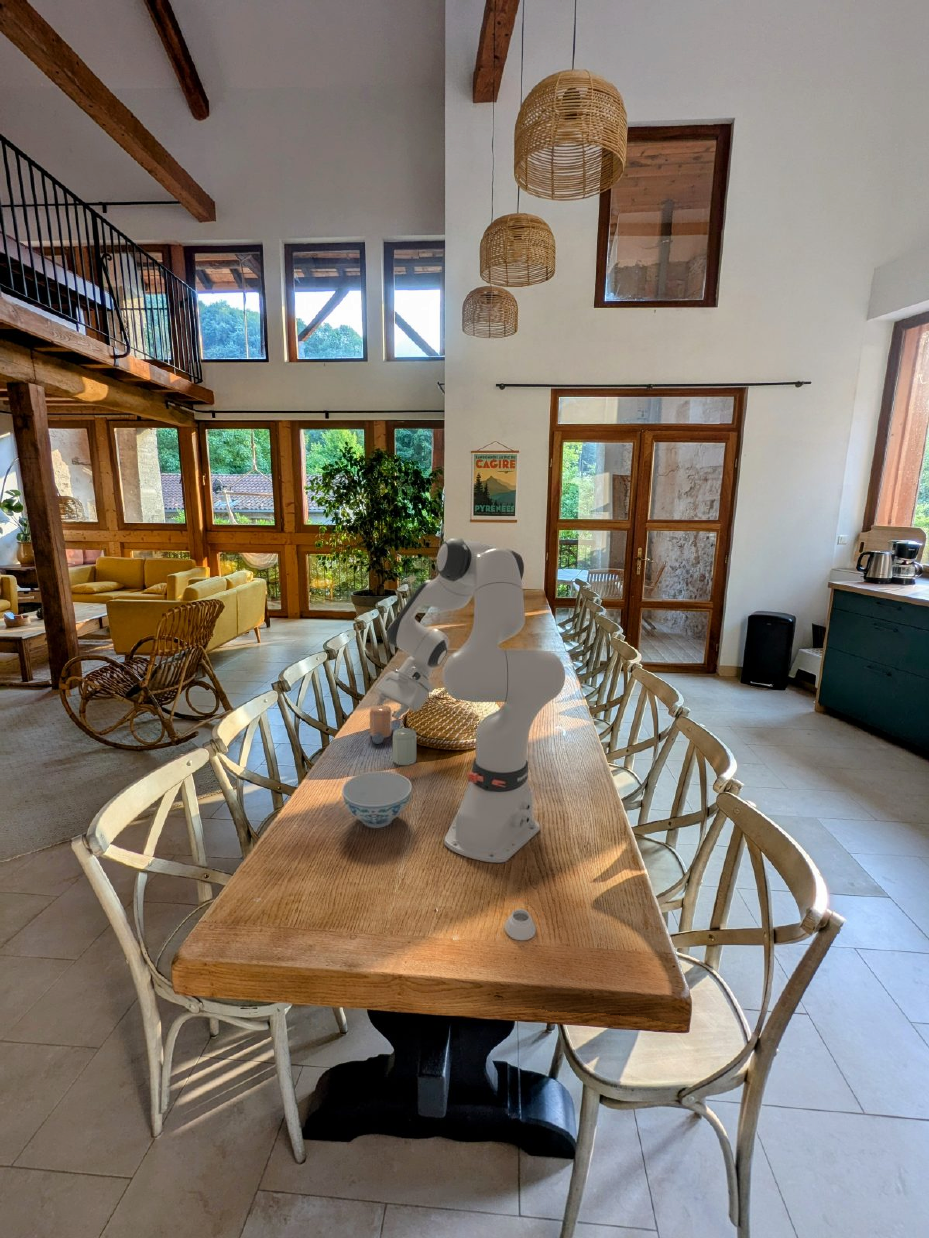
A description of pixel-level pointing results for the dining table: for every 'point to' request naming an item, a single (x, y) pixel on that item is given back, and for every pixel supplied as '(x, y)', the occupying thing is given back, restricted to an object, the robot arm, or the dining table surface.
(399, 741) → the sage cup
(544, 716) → the dining table surface
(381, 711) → the pink clay canister
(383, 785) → the chinaware
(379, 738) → the marble
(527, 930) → the lidless jar
